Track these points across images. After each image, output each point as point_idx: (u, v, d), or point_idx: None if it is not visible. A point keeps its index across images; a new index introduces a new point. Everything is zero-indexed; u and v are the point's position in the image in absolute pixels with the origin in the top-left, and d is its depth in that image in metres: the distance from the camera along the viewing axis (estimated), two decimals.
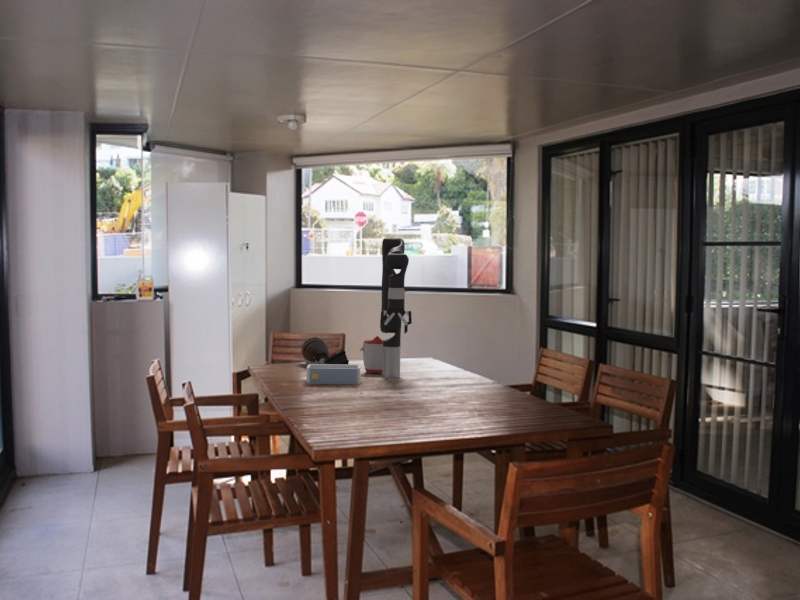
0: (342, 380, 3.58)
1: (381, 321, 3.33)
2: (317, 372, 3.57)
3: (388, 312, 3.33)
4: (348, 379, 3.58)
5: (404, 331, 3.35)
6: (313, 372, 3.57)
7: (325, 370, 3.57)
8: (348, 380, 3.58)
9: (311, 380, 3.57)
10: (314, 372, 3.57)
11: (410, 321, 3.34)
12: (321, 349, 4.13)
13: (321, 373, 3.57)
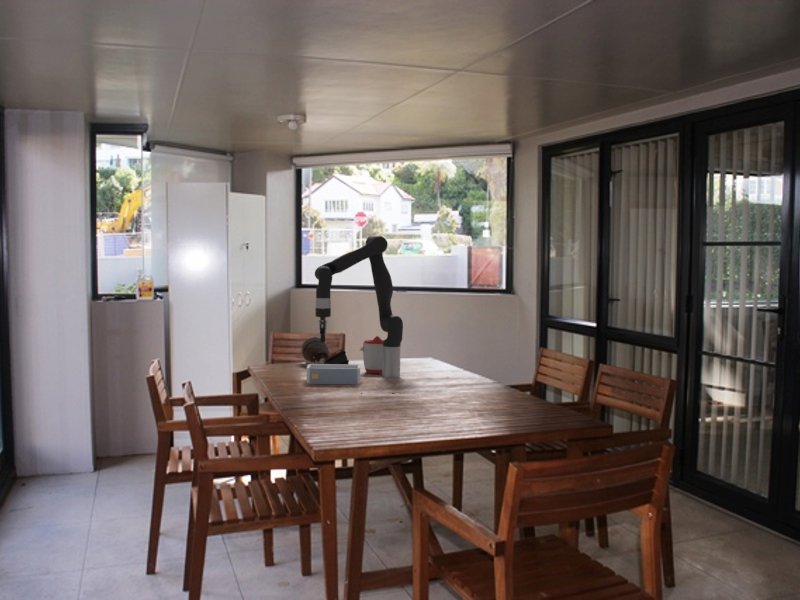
0: (342, 380, 3.58)
1: (325, 331, 3.60)
2: (317, 372, 3.57)
3: (324, 321, 3.59)
4: (348, 379, 3.58)
5: None
6: (313, 372, 3.57)
7: (325, 370, 3.57)
8: (348, 380, 3.58)
9: (311, 380, 3.57)
10: (314, 372, 3.57)
11: (325, 330, 3.66)
12: (321, 349, 4.13)
13: (321, 373, 3.57)
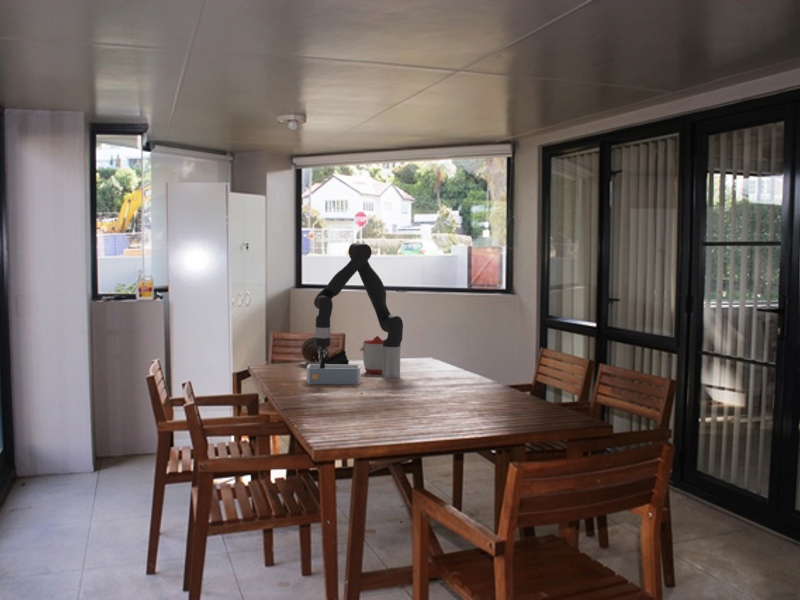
0: (342, 380, 3.58)
1: (325, 361, 3.57)
2: (317, 373, 3.57)
3: (325, 351, 3.56)
4: (348, 379, 3.58)
5: None
6: (313, 372, 3.57)
7: (325, 370, 3.57)
8: (348, 380, 3.58)
9: (311, 380, 3.57)
10: (314, 372, 3.57)
11: None
12: None
13: (321, 373, 3.57)
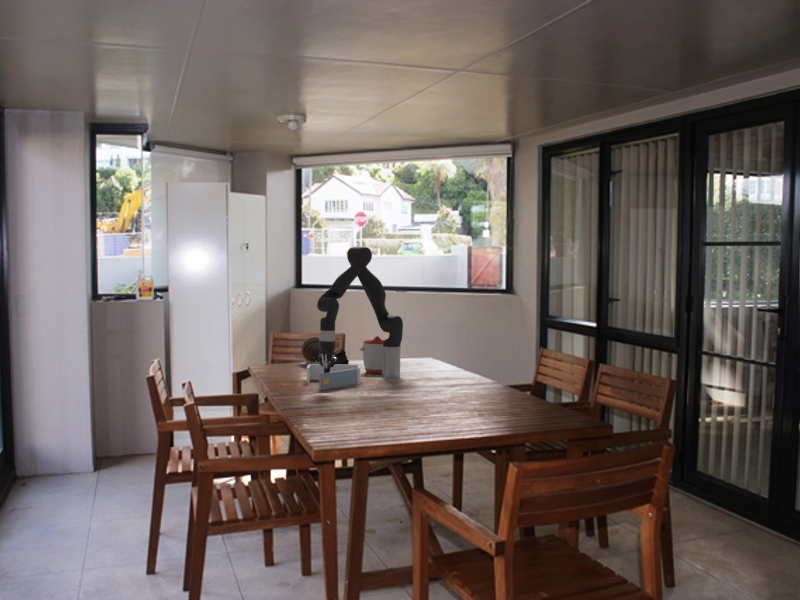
0: (346, 382, 3.54)
1: None
2: (326, 377, 3.44)
3: None
4: (350, 380, 3.56)
5: None
6: (323, 377, 3.43)
7: (333, 374, 3.47)
8: (350, 381, 3.56)
9: (322, 386, 3.43)
10: (324, 377, 3.43)
11: None
12: None
13: (329, 377, 3.46)
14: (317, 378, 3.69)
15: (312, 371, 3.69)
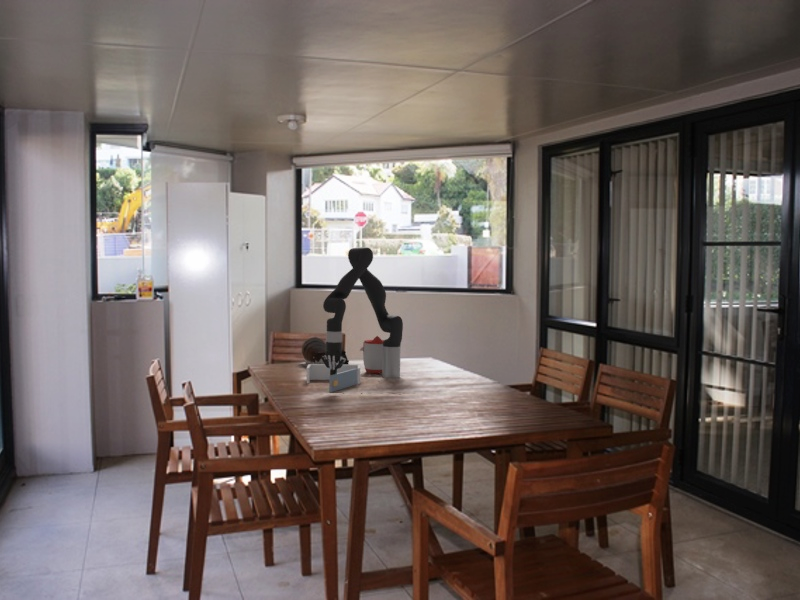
0: (349, 382, 3.52)
1: None
2: (335, 379, 3.41)
3: None
4: (352, 380, 3.55)
5: None
6: (333, 379, 3.40)
7: (340, 375, 3.45)
8: (352, 382, 3.55)
9: (332, 388, 3.39)
10: (334, 379, 3.40)
11: None
12: (321, 349, 4.13)
13: (337, 378, 3.43)
14: (317, 378, 3.69)
15: (312, 371, 3.69)
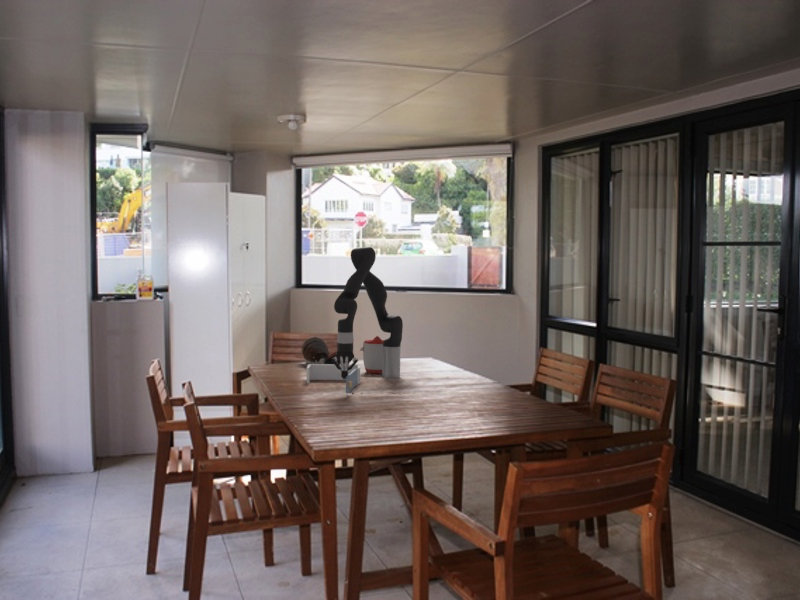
0: (354, 383, 3.52)
1: None
2: (349, 380, 3.39)
3: None
4: (355, 381, 3.55)
5: None
6: (348, 380, 3.37)
7: (351, 376, 3.43)
8: (355, 382, 3.54)
9: (348, 389, 3.37)
10: (349, 380, 3.38)
11: None
12: (321, 349, 4.13)
13: (350, 379, 3.41)
14: (317, 378, 3.69)
15: (312, 371, 3.69)
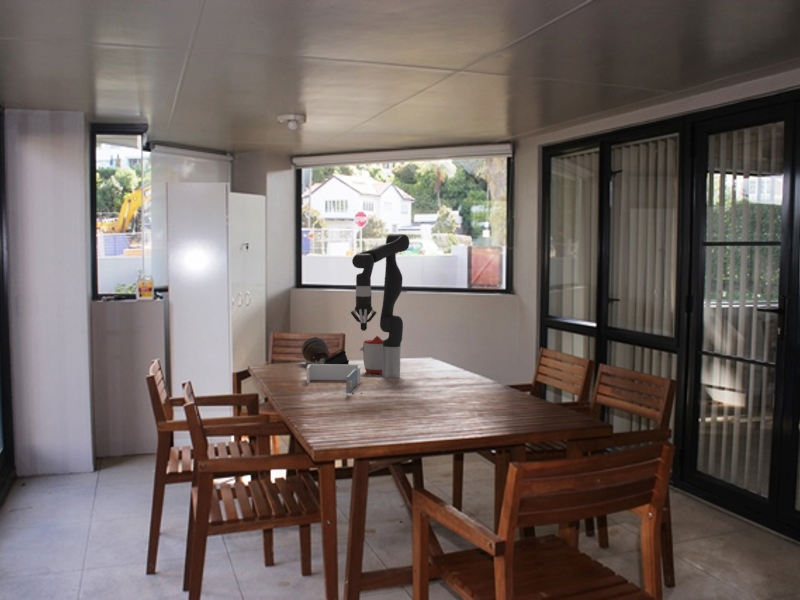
0: (354, 383, 3.52)
1: None
2: (349, 380, 3.39)
3: None
4: (355, 381, 3.55)
5: None
6: (349, 380, 3.37)
7: (351, 376, 3.43)
8: (355, 382, 3.54)
9: (348, 389, 3.37)
10: (349, 380, 3.38)
11: None
12: (321, 349, 4.13)
13: (350, 379, 3.41)
14: (317, 378, 3.69)
15: (312, 371, 3.69)
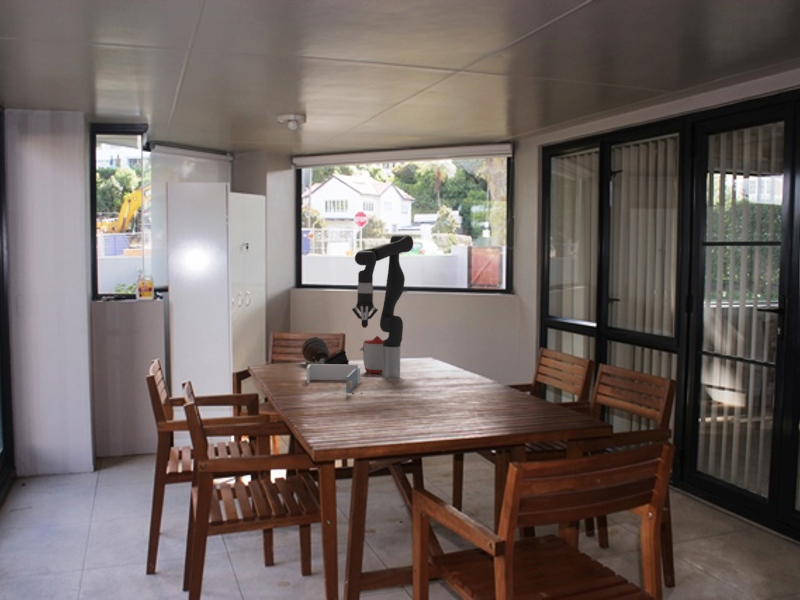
0: (354, 383, 3.52)
1: None
2: (349, 380, 3.39)
3: None
4: (355, 381, 3.55)
5: None
6: (349, 380, 3.37)
7: (351, 376, 3.43)
8: (355, 382, 3.54)
9: (348, 389, 3.37)
10: (349, 380, 3.38)
11: None
12: (321, 349, 4.13)
13: (350, 379, 3.41)
14: (317, 378, 3.69)
15: (312, 371, 3.69)
